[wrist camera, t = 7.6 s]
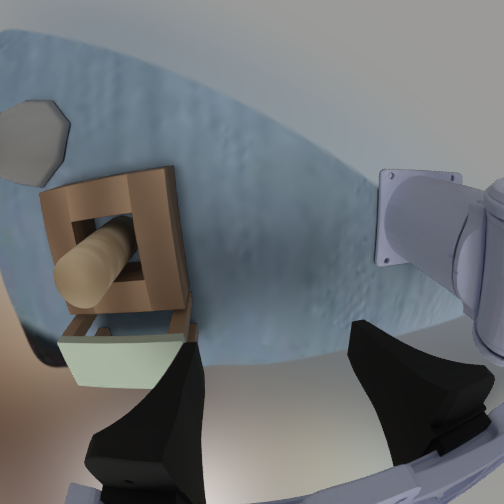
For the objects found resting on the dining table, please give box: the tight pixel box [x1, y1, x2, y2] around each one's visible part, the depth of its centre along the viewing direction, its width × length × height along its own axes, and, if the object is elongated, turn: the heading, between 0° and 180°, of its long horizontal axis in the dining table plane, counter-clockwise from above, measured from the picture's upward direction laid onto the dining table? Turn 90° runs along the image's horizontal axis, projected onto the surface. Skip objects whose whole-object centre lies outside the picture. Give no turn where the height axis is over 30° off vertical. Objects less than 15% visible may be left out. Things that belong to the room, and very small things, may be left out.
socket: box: [39, 165, 190, 315], centre depth 18 cm, size 9×9×4 cm
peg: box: [54, 216, 138, 308], centre depth 16 cm, size 3×3×8 cm
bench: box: [57, 291, 198, 389], centre depth 19 cm, size 9×4×6 cm, turn 94°
